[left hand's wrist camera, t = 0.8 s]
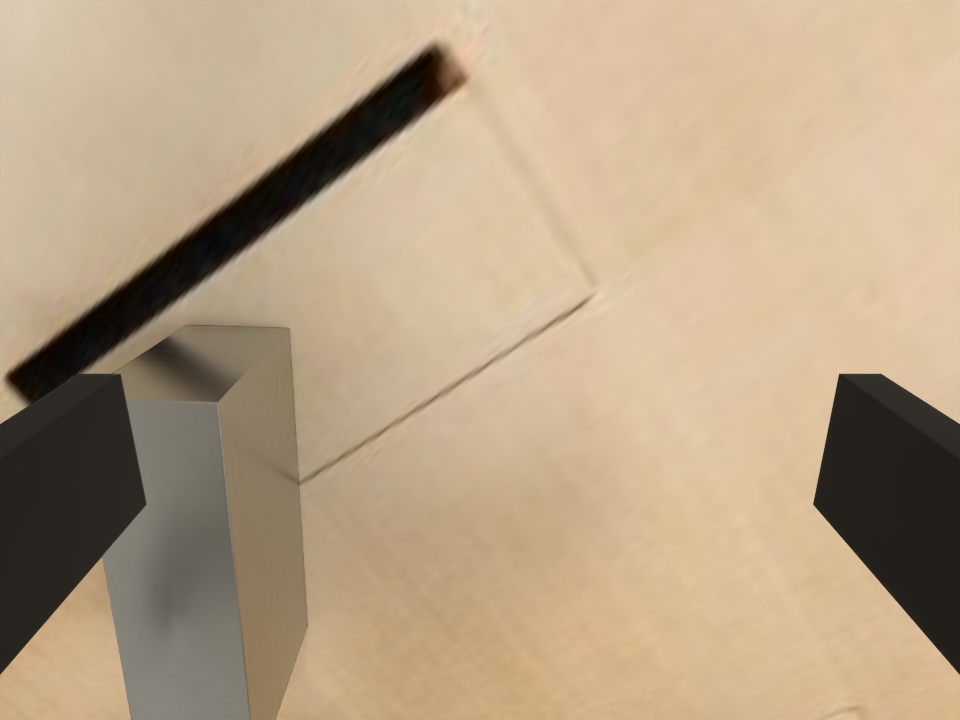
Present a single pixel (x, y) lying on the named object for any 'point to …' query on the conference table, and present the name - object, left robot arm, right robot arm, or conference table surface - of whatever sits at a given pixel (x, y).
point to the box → (211, 528)
